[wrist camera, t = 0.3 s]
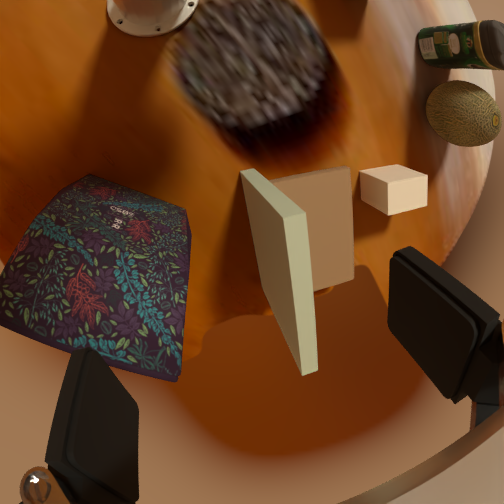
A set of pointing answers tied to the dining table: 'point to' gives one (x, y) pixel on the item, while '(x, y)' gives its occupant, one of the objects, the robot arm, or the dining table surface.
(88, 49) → the dining table surface
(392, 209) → the cabinet block
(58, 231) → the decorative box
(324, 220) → the pale l-shaped piece
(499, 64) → the coffee jar
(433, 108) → the fruit
